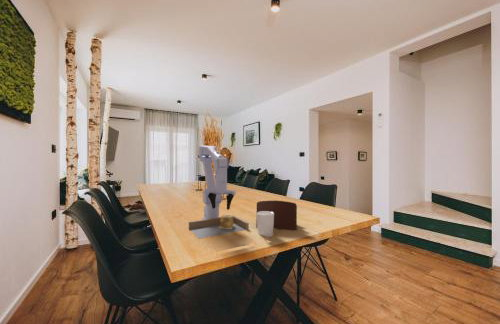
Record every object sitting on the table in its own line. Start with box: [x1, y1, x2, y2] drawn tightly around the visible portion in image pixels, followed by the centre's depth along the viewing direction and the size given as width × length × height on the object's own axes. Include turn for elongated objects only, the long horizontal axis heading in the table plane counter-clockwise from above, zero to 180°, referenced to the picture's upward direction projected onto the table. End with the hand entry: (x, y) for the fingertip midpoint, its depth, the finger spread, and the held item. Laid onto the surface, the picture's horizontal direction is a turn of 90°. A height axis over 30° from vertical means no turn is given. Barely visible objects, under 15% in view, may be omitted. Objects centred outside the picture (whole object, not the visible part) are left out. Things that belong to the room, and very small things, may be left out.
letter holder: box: [255, 200, 298, 231], centre depth 111 cm, size 10×20×14 cm, turn 80°
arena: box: [188, 214, 250, 239], centre depth 103 cm, size 16×24×4 cm, turn 121°
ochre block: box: [219, 214, 233, 228], centre depth 106 cm, size 5×5×5 cm
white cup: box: [256, 211, 274, 238], centre depth 97 cm, size 8×8×10 cm
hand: (221, 208), depth 108 cm, fingers open, 7 cm apart
